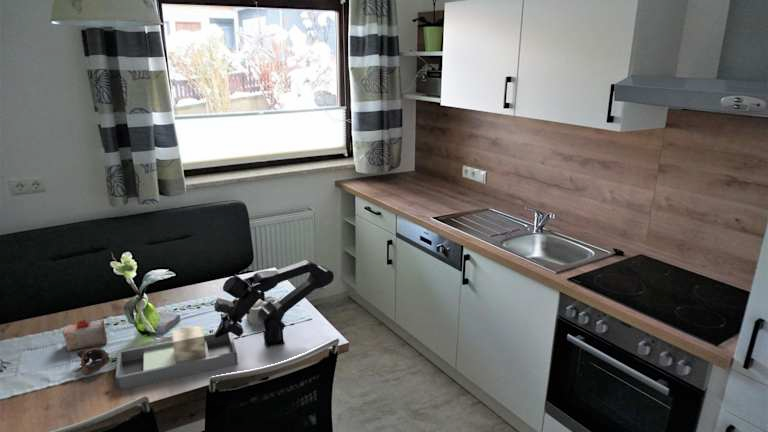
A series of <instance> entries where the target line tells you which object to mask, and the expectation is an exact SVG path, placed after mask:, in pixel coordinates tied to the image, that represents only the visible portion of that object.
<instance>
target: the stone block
mask: <svg viewBox="0 0 768 432" xmlns="http://www.w3.org/2000/svg"><path fill="white" fill-rule="evenodd" d="M158 314H159V316H160V321H159V322H158V323H157V332H158V333H157V334H163V333H164V334H166V333H168V332H169V331H170V330H171V329H172V328H173V327H174V326H176V325H177V324H178V323H179V322H180V321H181V315H180V313H175V312H171V311H166V312H162V313H161V312H160V313H158Z"/></svg>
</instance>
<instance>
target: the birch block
mask: <svg viewBox="0 0 768 432" xmlns="http://www.w3.org/2000/svg"><path fill="white" fill-rule="evenodd" d="M204 335H205V333H204V329H203V325H202V324H201V325H196V326H195V325H194V326H191V327H185V328H180V329H174V330H171V337H172V341H173V348H174V355H175V363H176V362H181V361H185V360H190V359H195V358H200V357H205V356H206V351H205V342H204Z"/></svg>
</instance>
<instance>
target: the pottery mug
mask: <svg viewBox="0 0 768 432" xmlns="http://www.w3.org/2000/svg"><path fill="white" fill-rule="evenodd" d="M76 354H77V357H79V358H80V365H81V367H82V373H83V374H84V375H86V376H88V375H89V374H92V373H94V372H97V371H100V370H101V369H102V368H103V367H104V366H105V365H106V364H108V363H109V362H110V354H109V353H108V352H107V351H106V350H105V349H103V348H99V347H93V348H90V349H88V350H85V349H78V351H77V353H76ZM90 360H91V363H94V362H96V361H98V360H99V361H98V362H97V363H94V364H91V365H90V364H88V363H90Z"/></svg>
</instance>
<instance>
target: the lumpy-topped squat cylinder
mask: <svg viewBox="0 0 768 432" xmlns="http://www.w3.org/2000/svg"><path fill="white" fill-rule="evenodd" d="M279 301H280V300H279V298H278V297H276V296H271V295H265V301H262V300H261V299H259V300H258V301H257V302H256V303H255V304H254V306H253V307H252V308H251V309H250V310H249V311H250V313H249V314H246V315H245V316H246V320H247V321H248V322H249V324H250V325H251V326H263V324H262V323H261V322H260V321H259V319H258V312H259V311H260V310H261V307H263V306H265V305H266V304H267V303H268V302H271V303H272V304H273V303H277V302H279Z"/></svg>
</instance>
